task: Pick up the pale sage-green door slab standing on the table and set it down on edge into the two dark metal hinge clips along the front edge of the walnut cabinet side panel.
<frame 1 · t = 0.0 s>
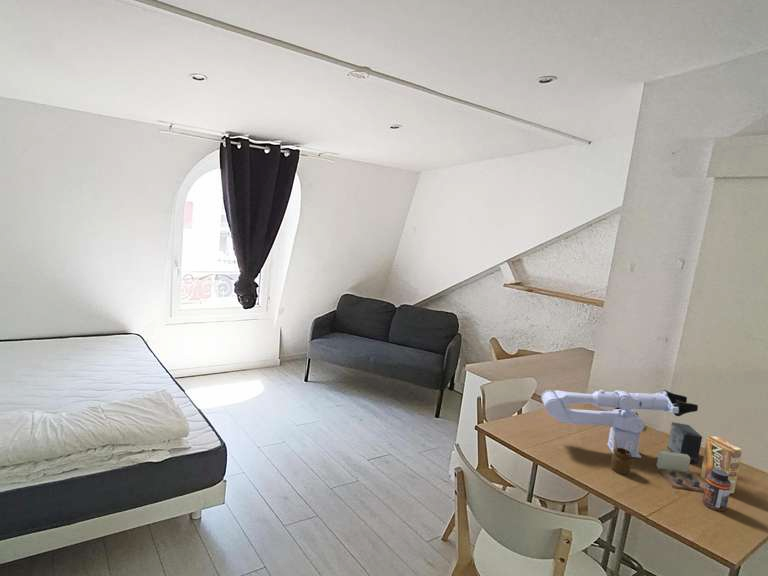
hand: (691, 403, 156), 22 cm above the table, tool horizontal, fingers open, 7 cm apart
supplement bottle: (713, 506, 132), on the table
door: (671, 470, 152), on the table
small box: (682, 455, 163), on the table
side panel: (684, 481, 145), on the table
candy box: (716, 486, 143), on the table
utensil holder: (619, 470, 149), on the table
cup and saucer: (622, 423, 189), on the table
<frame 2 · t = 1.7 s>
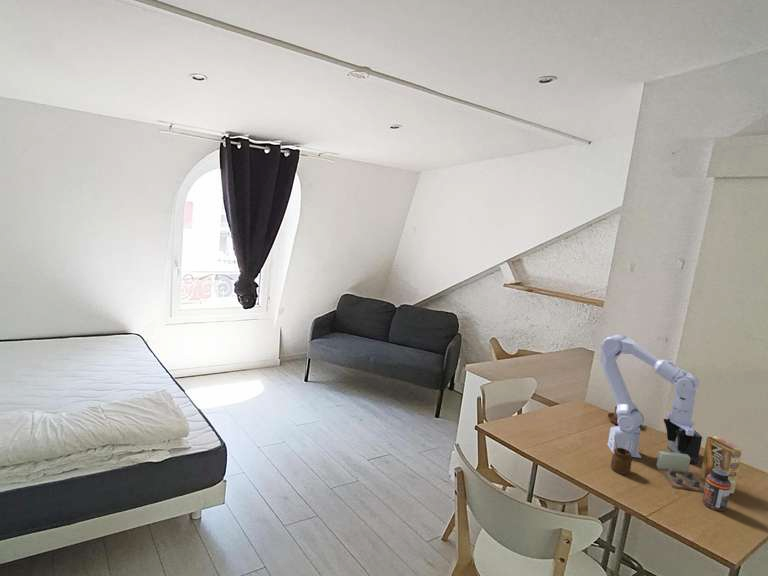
hand: (676, 445, 150), 9 cm above the table, tool pointing down, fingers open, 7 cm apart
nothing on the table moved.
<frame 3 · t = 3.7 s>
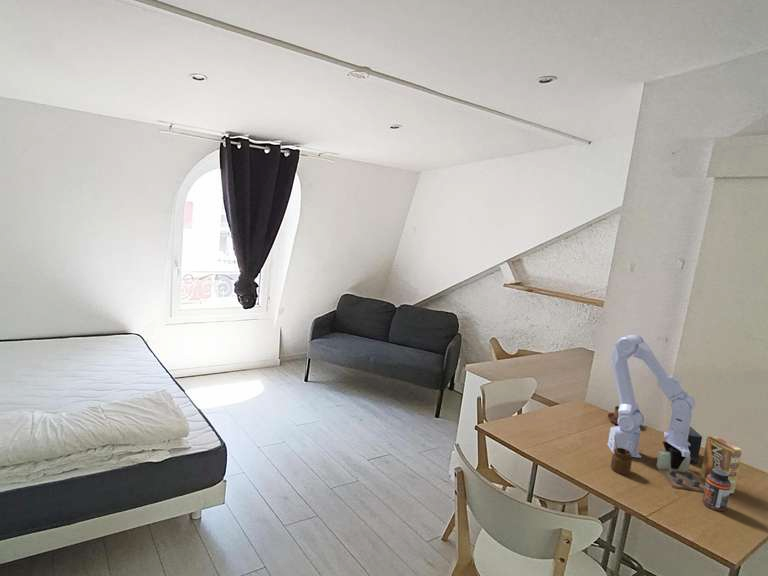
hand: (672, 466, 152), 1 cm above the table, tool pointing down, fingers closed on door, 2 cm apart
door: (671, 469, 152), on the table, touching gripper
everything else where it was.
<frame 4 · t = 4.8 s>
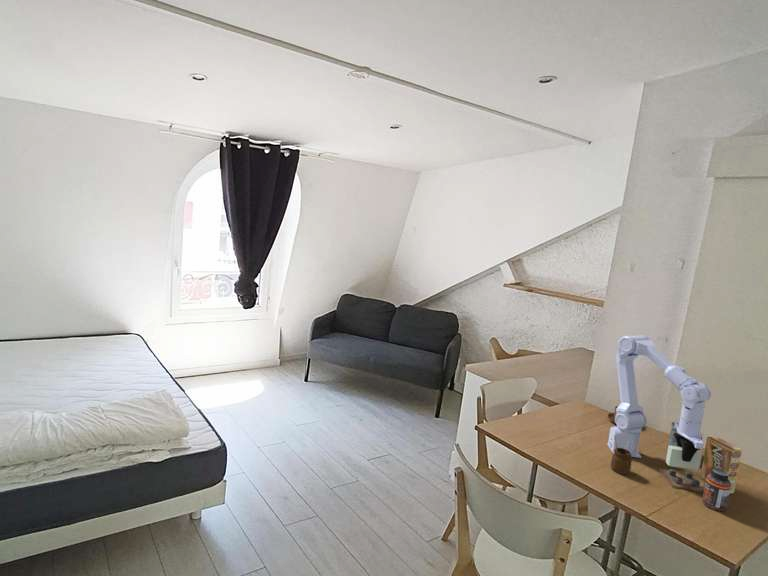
hand: (683, 458, 143), 8 cm above the table, tool pointing down, fingers closed on door, 2 cm apart
door: (682, 466, 143), point 6 cm above the table, touching gripper
everything else where it was.
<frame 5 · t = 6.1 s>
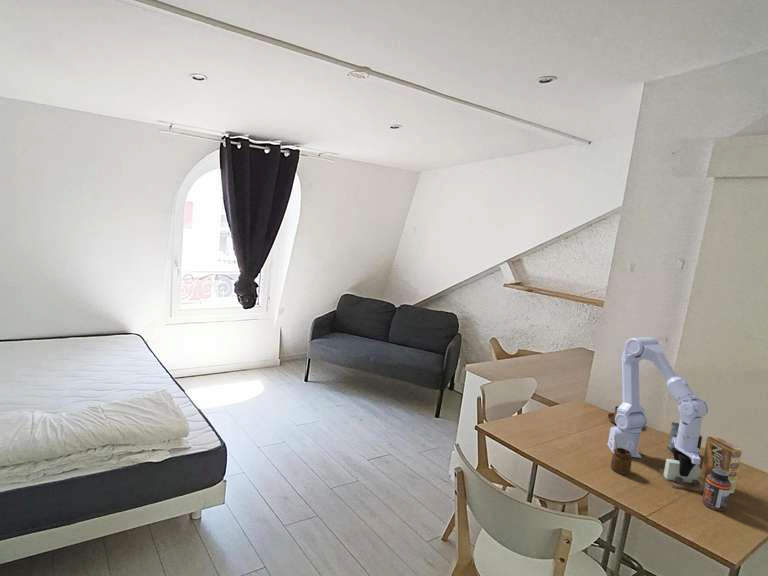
hand: (681, 473, 144), 3 cm above the table, tool pointing down, fingers closed on door, 2 cm apart
door: (679, 479, 144), point 1 cm above the table, touching gripper, side panel
everything else where it was.
when the fingers open (3 cm above the table, at t = 6.4 s): door stays where it is, resting on side panel.
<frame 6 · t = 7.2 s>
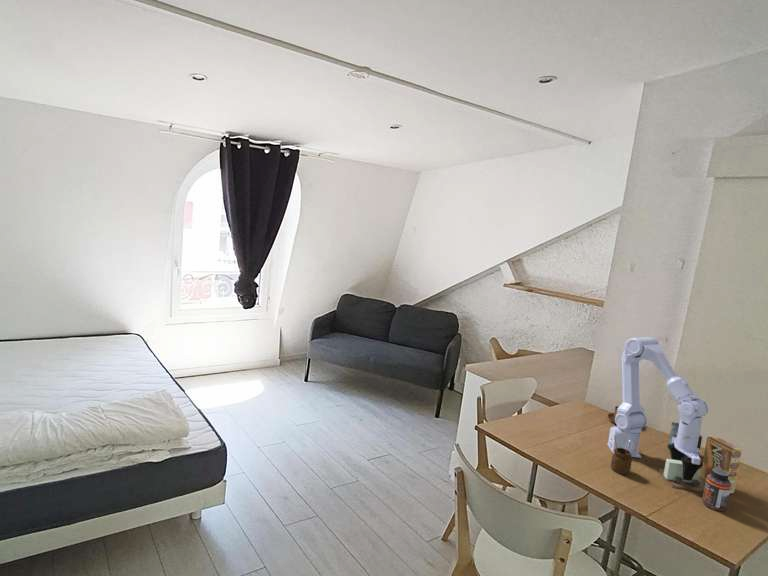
hand: (681, 473, 144), 3 cm above the table, tool pointing down, fingers open, 7 cm apart
door: (679, 479, 144), point 1 cm above the table, touching side panel
everything else where it was.
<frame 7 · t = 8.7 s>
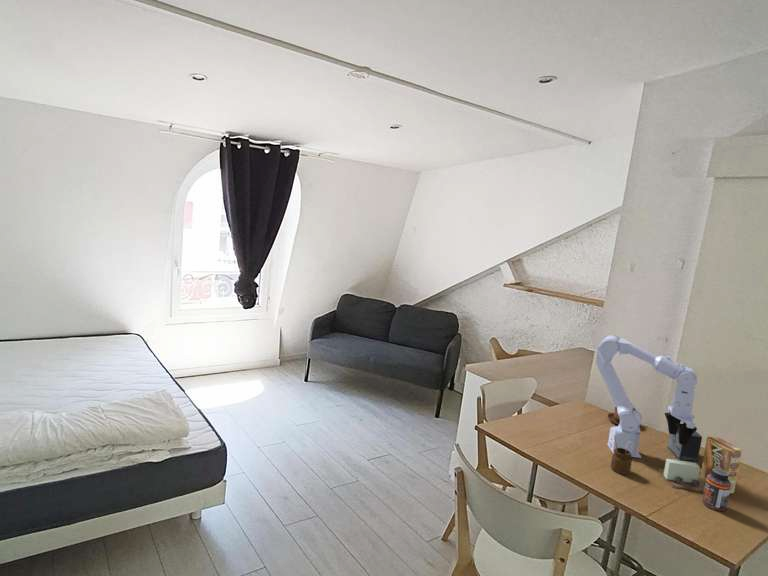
hand: (677, 438, 153), 10 cm above the table, tool pointing down, fingers open, 7 cm apart
nothing on the table moved.
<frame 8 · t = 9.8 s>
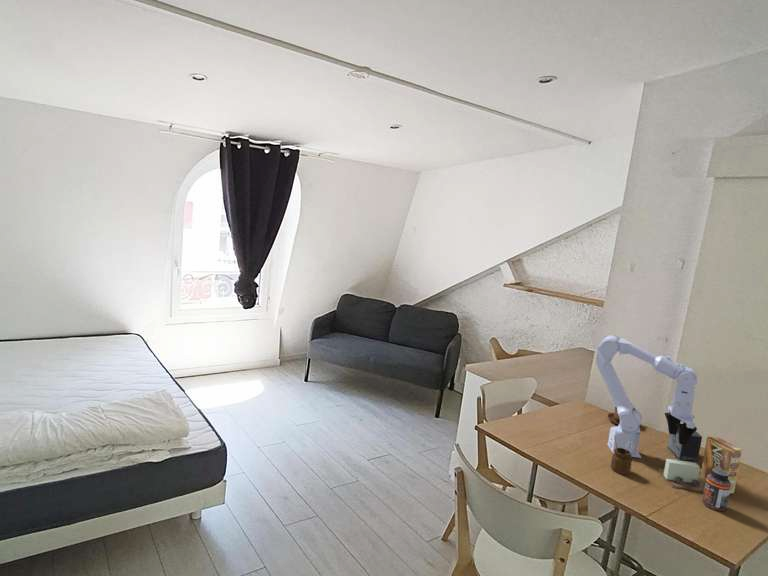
hand: (677, 438, 153), 10 cm above the table, tool pointing down, fingers open, 7 cm apart
nothing on the table moved.
at the end: door 0.9 cm from the target spot on the side panel, point 1.0 cm above the side panel's base; door tilted 0°; the gripper is holding nothing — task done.
